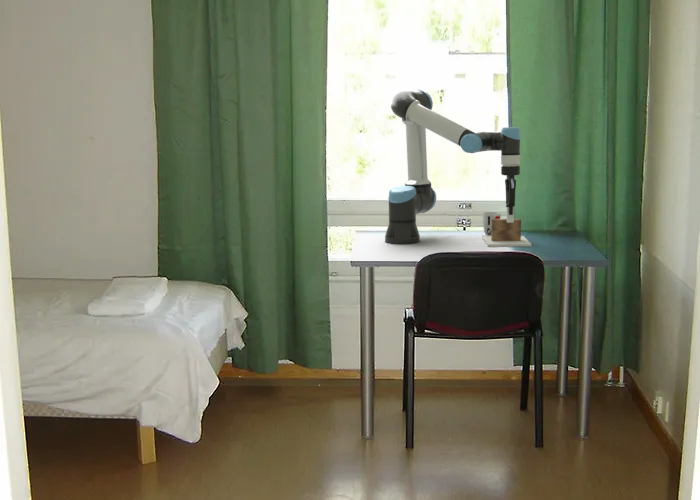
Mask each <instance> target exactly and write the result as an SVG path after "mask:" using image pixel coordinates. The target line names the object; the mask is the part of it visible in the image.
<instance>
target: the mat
mask: <svg viewBox="0 0 700 500" xmlns="http://www.w3.org/2000/svg"><path fill="white" fill-rule="evenodd" d="M481 239H482V240H484V241H483V242H484V243H485V245H486V246H487V248H488V247H489V248H490V247H491V248H492V247H493V248H494V247H496V248H497V247H499V248H500V247H502V248H503V247H506V248H507V247H508V248H509V247H532V246H533V245H532V243H531V242H530V241H529V240H528V239H527V238H526V237H525V236H524V235H521V241H492V240H491V236H486V235H485V236H484V235H482V236H481Z"/></svg>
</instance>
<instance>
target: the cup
mask: <svg viewBox="0 0 700 500" xmlns="http://www.w3.org/2000/svg"><path fill="white" fill-rule="evenodd" d="M481 214H482V215H481V216H482V227H483V231H484V232H483V233H484V235H485V236H486V235H487V236H491V227H492V219H501V217H502V216H501V215H502V214H501V212H495V211H488V212H487V211H486V212H482V213H481Z"/></svg>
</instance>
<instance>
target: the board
mask: <svg viewBox="0 0 700 500" xmlns="http://www.w3.org/2000/svg"><path fill="white" fill-rule="evenodd" d="M521 236H522V219H521V218H514V222H512V223H507V218H500V219H492V227H491V240H492V241H521Z"/></svg>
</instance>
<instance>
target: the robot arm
mask: <svg viewBox="0 0 700 500" xmlns="http://www.w3.org/2000/svg"><path fill="white" fill-rule="evenodd" d="M433 104H434V102H433V99H432V97H431V95H430V94H429V93H428V92H427V91H425V90H423V89H418V88H415V89H414V88H413V89H400V90H398V91H396V92H395V93H393V95H392V96H391V99H390V109H391V110H392V113H393V114H395V116H396V117H398V118H400V119H401V120H402V121H401V122H402V123H403V124H404V125H405V137H406V140H405V141H406V157H407V158H406V159H407V160H406V161H407V162H406V163H407V164H406V165H407V181H406V182H405V183H404V185H401V186H395V187H392V188H391V189H389V192H388V198H387V199H388V226H387V229H386V232H385V235H384V242H386V243H389V244H398V245H400V244H401V245H409V244H417V243H419V242H420V241H421V235H420V232H419V229H418V226H417V215H418V214H425V213H427V212H429V211H431V210H432V209H433V208H434V207H435V205H436V202H437V194H436V193H437V192H435V190H434V188H433V187H432V182H431V181H430V180H429V179H428V160H427V159H428V158H427V157H428V156H427V137H426V136H427V135H426V134H427V130H428V131H430V132H433V133H434V134H436V135H438V136H440V137H442V138H444V139H446V140H447V141H450V142H451V143H453V144H455V145H457V146H458V147H460V148H461V149H462V151H463V152H465V153H467V154H474V153H481V152H489V151H495V152H496V151H499V152H500V151H501V152H500V153H501V155H500V164H501V165H502V166H501V168H500V169H501V170H500V173H501V176H506V179H504V183H505V204H506V205H505V208H506V219H507V223H512V222H514V219H515V206H516V204H515V203H516V188H517V187H516V186H517V180H516V179H515V176H519V175H520V174H521V173H520V172H521V166H520V163H521V160H522V156H521V155H520V154H521V153H520V152H521V130H520V128H519V127H518V126H517V127H515V126H513V127H502V128H501V129H500V130H501V131H500V132H491V131H490V132H488V131H487V132H486V131H481V132H477V133H476V132H474V131H473V130H470V129H469V128H467V127H466V126H465V127H464V126H462V125H461V124H458V123H457V122H455V121H453V120H452V119H449V118H447V117H445V116H443V115H441V114H439V113H437V112H436V111H434V110H432V109H433V106H434V105H433ZM426 129H427V130H426Z"/></svg>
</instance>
